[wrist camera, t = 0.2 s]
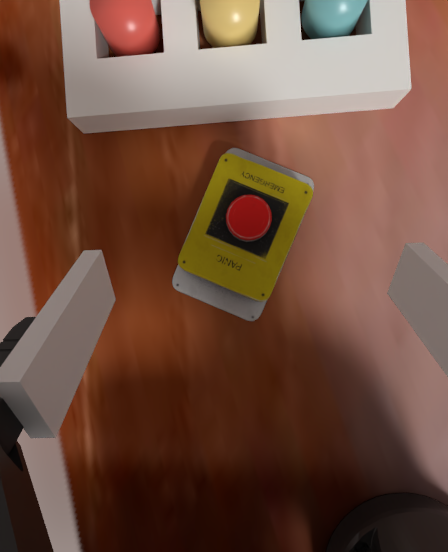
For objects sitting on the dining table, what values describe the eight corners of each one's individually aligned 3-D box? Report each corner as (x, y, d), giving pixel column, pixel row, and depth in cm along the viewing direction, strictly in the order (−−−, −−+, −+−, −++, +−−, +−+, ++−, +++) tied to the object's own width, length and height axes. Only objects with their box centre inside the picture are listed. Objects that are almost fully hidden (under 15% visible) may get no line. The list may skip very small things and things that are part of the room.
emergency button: (330, 166, 26) (260, 331, 26) (316, 182, 30) (256, 323, 30) (227, 125, 26) (158, 288, 26) (228, 147, 30) (169, 286, 30)
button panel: (393, 108, 29) (411, 89, 26) (83, 133, 30) (67, 117, 27) (381, -59, 29) (398, -97, 26) (73, -29, 30) (55, -62, 27)
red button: (162, 59, 28) (152, 29, 25) (108, 64, 29) (91, 34, 25) (158, 5, 28) (147, -33, 25) (105, 10, 29) (87, -27, 25)
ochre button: (259, 50, 28) (262, 18, 25) (205, 55, 28) (200, 24, 25) (255, -4, 28) (258, -44, 25) (201, 1, 28) (197, -37, 25)
